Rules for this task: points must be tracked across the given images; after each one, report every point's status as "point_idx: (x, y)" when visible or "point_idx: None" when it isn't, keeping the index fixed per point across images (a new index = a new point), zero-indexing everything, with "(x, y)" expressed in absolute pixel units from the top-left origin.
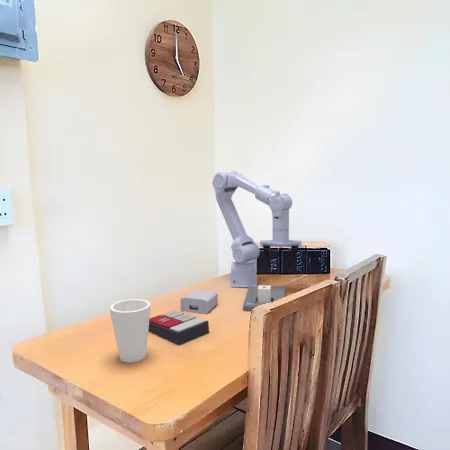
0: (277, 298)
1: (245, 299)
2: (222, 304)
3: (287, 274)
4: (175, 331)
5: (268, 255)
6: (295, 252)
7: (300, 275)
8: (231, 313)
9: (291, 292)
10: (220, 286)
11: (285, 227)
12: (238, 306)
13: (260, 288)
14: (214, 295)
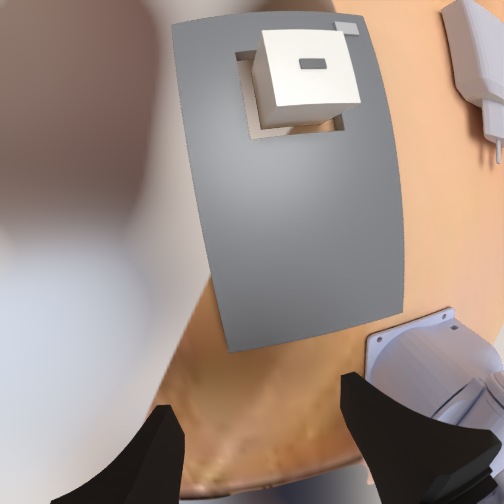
0: (227, 136)
1: (383, 93)
2: (443, 91)
3: (259, 485)
4: None
5: (409, 430)
6: (78, 497)
7: (213, 486)
8: (380, 5)
9: (190, 323)
10: (477, 302)
11: None
12: (388, 68)
13: (330, 40)
14: (479, 53)
